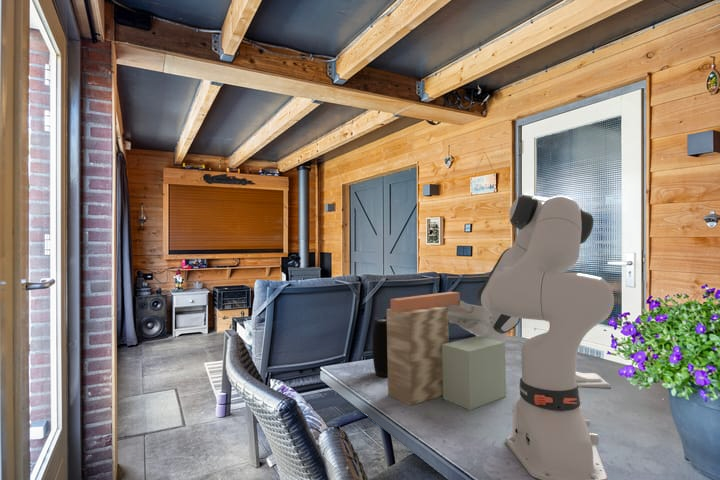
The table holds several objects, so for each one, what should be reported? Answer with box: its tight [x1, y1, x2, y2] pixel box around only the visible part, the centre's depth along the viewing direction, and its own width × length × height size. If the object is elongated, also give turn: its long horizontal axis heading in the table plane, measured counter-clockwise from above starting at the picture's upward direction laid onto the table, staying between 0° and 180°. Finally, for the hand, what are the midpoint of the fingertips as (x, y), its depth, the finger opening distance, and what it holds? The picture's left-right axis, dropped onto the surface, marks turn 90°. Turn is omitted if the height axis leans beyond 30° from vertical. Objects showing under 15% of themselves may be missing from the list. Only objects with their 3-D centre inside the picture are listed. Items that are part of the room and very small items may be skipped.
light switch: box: [576, 371, 612, 389], centre depth 131 cm, size 11×4×13 cm
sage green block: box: [442, 336, 507, 411], centre depth 119 cm, size 16×10×16 cm, turn 125°
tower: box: [386, 306, 450, 406], centre depth 123 cm, size 16×10×26 cm, turn 125°
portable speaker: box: [371, 316, 388, 378], centre depth 142 cm, size 9×9×20 cm
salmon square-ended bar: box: [390, 291, 461, 313], centre depth 125 cm, size 26×4×4 cm, turn 125°
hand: (448, 301), depth 131 cm, fingers open, 8 cm apart
